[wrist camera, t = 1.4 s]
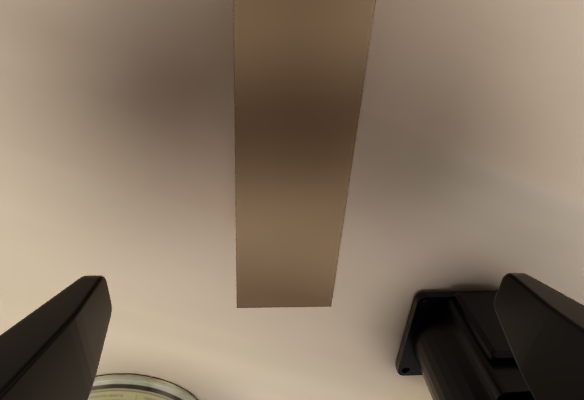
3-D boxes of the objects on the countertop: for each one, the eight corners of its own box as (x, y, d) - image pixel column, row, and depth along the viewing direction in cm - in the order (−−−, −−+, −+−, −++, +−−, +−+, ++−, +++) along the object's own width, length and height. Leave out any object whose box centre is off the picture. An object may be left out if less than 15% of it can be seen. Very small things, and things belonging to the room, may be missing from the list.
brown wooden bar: (314, 232, 20) (333, 317, 15) (240, 232, 19) (236, 320, 15) (361, -215, 12) (435, -340, 7) (238, -229, 12) (227, -371, 7)
